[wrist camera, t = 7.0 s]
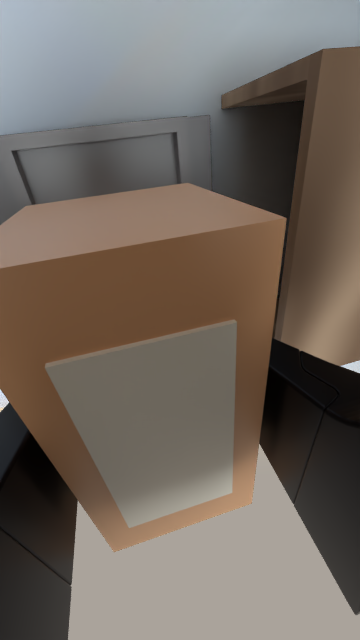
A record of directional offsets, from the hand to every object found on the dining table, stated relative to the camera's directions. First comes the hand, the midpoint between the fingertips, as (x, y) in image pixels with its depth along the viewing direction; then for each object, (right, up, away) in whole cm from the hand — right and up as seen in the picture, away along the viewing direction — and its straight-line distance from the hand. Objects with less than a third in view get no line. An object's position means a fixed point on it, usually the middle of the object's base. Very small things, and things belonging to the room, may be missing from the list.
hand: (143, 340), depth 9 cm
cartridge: (0, +1, +1) cm, 1 cm away
